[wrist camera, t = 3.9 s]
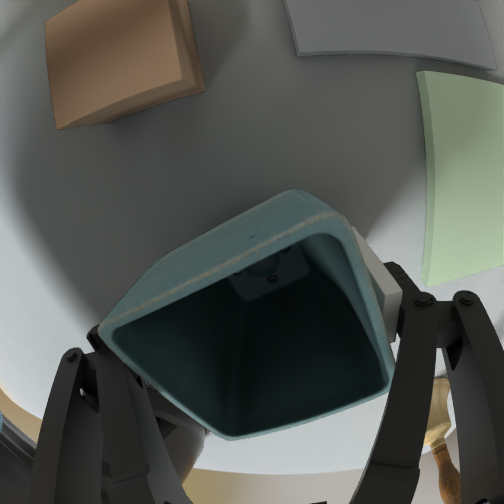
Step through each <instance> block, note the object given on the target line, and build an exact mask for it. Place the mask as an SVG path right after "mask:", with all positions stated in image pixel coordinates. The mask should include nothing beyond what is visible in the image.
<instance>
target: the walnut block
mask: <svg viewBox="0 0 504 504" xmlns="http://www.w3.org/2000/svg"><path fill="white" fill-rule="evenodd" d="M45 42H46V58H47V69H48V79H49V87H50V94H51V101H52V107H53V113H54V118H55V123H56V128H57V130H61V129H67V128H73V127H80V126H87V125H95V124H104V123H109V122H111V121H114V120H116V119H119V118H121V117H124V116H127V115H129V114H132V113H135V112H138V111H141V110H144V109H146V108H149V107H152V106H156V105H159V104H162V103H165V102H168V101H172V100H175V99H179V98H182V97H186V96H189V95H193V94H197V93H201V92H205V91H206V90H205V85H204V80H203V75H202V71H201V66H200V61H199V56H198V51H197V46H196V41H195V36H194V31H193V26H192V21H191V16H190V11H189V6H188V1H187V0H79V1H77V2H75V3H74V4H72V5H70V6H69V7H67V8H65V9H64V10H62V11H61V12H59V13H58V14H56V15H55V16H53V17H52V18H50V19H49V20H47V21H46V22H45Z"/></svg>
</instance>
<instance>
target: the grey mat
mask: <svg viewBox="0 0 504 504" xmlns="http://www.w3.org/2000/svg"><path fill="white" fill-rule="evenodd" d="M283 3H284V7H285V10H286V14H287V18H288V21H289V25H290V29H291V33H292V37H293V41H294V45H295V49H296V53H297V57H301V56H313V55H330V54H382V55H399V56H410V57H420V58H428V59H435V60H441V61H447V62H453V63H458V64H463V65H468V66H472V67H477V68H481V69H485V70H497V68H496V63H495V58H494V54H493V50H492V46H491V42H490V38H489V35H488V31H487V28H486V25H485V22H484V19H483V16H482V13H481V10H480V7H479V4H478V2H477V0H283Z"/></svg>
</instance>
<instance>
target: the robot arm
mask: <svg viewBox="0 0 504 504" xmlns="http://www.w3.org/2000/svg"><path fill="white" fill-rule="evenodd" d="M352 229H353V232H354V234H355V236H356V238H357V242H358V245H359V248H360V251H361V253H362V255H363V259H364V262H365V265H366V268H367V271H368V273H369V276H370V279H371V282H372V285H373V288H374V292H375V294H376V298H377V301H378V304H379V308H380V310H381V314H382V317H383V321H384V323H385V328H386V332H387V335H388V337H389V341H390V343H392V342H395V340H396V334H397V333H398V335H399V337H400V344H399V349H398V354H397V360H396V365H395V369H394V374H393V378H392V382H391V387H390V391H389V395H388V398H387V402H386V406H385V409H384V413H383V416H382V420H381V423H380V426H379V429H378V433H377V436H376V439H375V442H374V444H373V447H372V450H371V453H370V456H369V458H368V461H367V464H366V466H365V469H364V471H363V474H362V476H361V479H360V481H359V483H358V486H357V488H356V490H355V492H354V494H353V496H352V498H351V501H350V503H349V504H411V501H412V499H413V496H414V493H415V490H416V487H417V484H418V480H419V476H420V469H419V461H420V457H421V453H422V448H423V444H424V440H425V435H426V430H427V425H428V419H429V413H430V407H431V400H432V393H433V384H434V375H435V363H436V348H441V349H442V353H443V357H444V361H445V365H446V370H447V374H448V379H449V384H450V389H451V395H452V400H453V406H454V413H455V420H456V428H457V436H458V447H459V461H460V493H461V504H504V350H503V347H502V345H501V343H500V340H499V338H498V336H497V333H496V331H495V329H494V327H493V325H492V322H491V320H490V318H489V316H488V314H487V312H486V310H485V308H484V306H483V304H482V302H481V300H480V298H479V297H478V296H477V295H476V294H475V293H473V292H471V291H466V290H462V291H458V292H456V293H455V294H454V296H453V300H452V301H436V298H435V297H434V296H433V295H431V294H429V293H427V292H421V291H420V290H419V289H418V287H417V286H416V285H415V283H414V282H413V281H412V280H411V278H410V277H409V276H408V275H407V273H405V271H404V270H403V269H402V267H401V266H400V265H398V264H396V263H394V262H393V261H392V262H387V263H382V262H381V261H380V259H379V258H378V257H377V255H376V254H375V253H374V252H373V250H372V249H371V248H370V246H369V245H368V244H367V243H366V241H365V240H364V239H363V238H362V236H361V235H360V234H359V233H358V231H357V230H356V229H355V228H354V226H352ZM99 325H100V324H99ZM99 325H97V326H95V327H93V328H92V329H91V330H90V331H89V332H88V334H87V337H86V338H87V339H88V341H89V342H90V344H91V346H92V347H93V349H94V350H95V352H91V353H88V354H84V353H83V351H82V350H81V349H80V348H78V347H77V348H72V349H69V350H68V351H66V353H65V354H64V355H63V357H62V358H61V361H60V364H59V367H58V370H57V373H56V376H55V379H54V382H53V385H52V388H51V392H50V395H49V398H48V402H47V406H46V409H45V413H44V417H43V421H42V425H41V429H40V434H39V438H38V443H35V442H34V441H33V440H32V439H30V438H29V437H28V436H27V435H25V434H24V433H23V432H22V431H21V430H20V429H18V428H17V427H16V426H15V425H14V424H13V423H11V422H10V421H9V420H8V419H7V418H6V417H5V416H4V415H3V414H2V413H1V411H0V504H193V503H192V501H191V500H190V499H189V498H188V496H187V495H186V493H185V492H184V489H183V487H182V485H183V483H184V481H185V480H186V478H187V476H188V475H189V473H190V471H191V469H192V468H193V466H194V464H195V462H196V461H197V459H198V457H199V455H200V454H201V452H202V449H203V446H204V439H205V427H204V426H203V425H201V424H200V423H199V422H197V421H196V420H194V419H193V418H192V417H190V416H189V415H188V414H186V413H185V412H184V411H182V410H181V409H180V408H178V407H177V406H175V405H174V404H173V403H172V402H170V401H169V400H168V399H167V398H166V397H164V396H163V395H162V394H161V393H158V392H156V391H154V390H151V389H148V388H146V386H145V383H144V379H143V378H142V377H141V376H140V375H138V374H137V373H135V372H134V371H133V370H132V369H131V368H130V367H129V366H128V365H127V364H126V363H124V362H123V361H122V360H121V359H120V357H118V356H117V355H116V354H115V353H114V352H113V351H112V350H111V349H110V348H109V347H108V346H107V344H106V343H105V342H104V341H103V340H102V339H101V337H100V336H99V335H98V327H99ZM80 389H82V390H81V392H80ZM312 504H327V501H325V502H319V503H312Z"/></svg>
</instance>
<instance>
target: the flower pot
mask: <svg viewBox="0 0 504 504" xmlns="http://www.w3.org/2000/svg"><path fill="white" fill-rule="evenodd" d="M287 247H288V248H287ZM285 248H287V249H285ZM283 249H285V250H283ZM239 271H240V272H239ZM237 272H238V273H237ZM270 275H274V276H276V280H275V281H269V280H268V277H269V276H270ZM98 335H99V336H100V337H101V339H102V340H103V341H104V342H105V343H106V344H107V346H108V347H109V348H110V349H111V350H112V351H113V352H114V353H115V354H116V355H117V356H118V357H120V359H121V360H122V361H123V362H124V363H126V364H127V365H128V366H129V367H130V368H131V369H132V370H133V371H134V372H135V373H137V374H138V375H140V376H141V377H142V378H143V379H144V380H145V381H146V382H147V383H149V384H150V385H151V386H152V387H153V388H154V389H156V390H157V391H158V392H159V393H161V394H162V395H163V396H164V397H166V398H167V399H168V400H169V401H170V402H172V403H173V404H174V405H175V406H177V407H178V408H180V409H181V410H182V411H184V412H185V413H186V414H188V415H189V416H190V417H192V418H193V419H194V420H196V421H197V422H199V423H200V424H201V425H203V426H204V427H205V428H207V429H208V430H209V431H211V432H212V433H213V434H215V435H216V436H218V437H220V438H223V439H225V440H228V441H234V440H240V439H246V438H251V437H256V436H261V435H265V434H269V433H273V432H277V431H280V430H285V429H288V428H292V427H295V426H299V425H302V424H306V423H309V422H312V421H315V420H318V419H320V418H323V417H327V416H329V415H332V414H335V413H338V412H341V411H344V410H346V409H349V408H352V407H355V406H357V405H360V404H362V403H365V402H367V401H370V400H372V399H375V398H377V397H379V396H382V395H384V394H386V393H387V392H389V391H390V387H391V382H392V378H393V374H394V369H395V365H396V363H395V358H394V356H393V351H392V348H391V345H390V341H389V337H388V335H387V332H386V328H385V323H384V321H383V317H382V314H381V310H380V308H379V304H378V301H377V298H376V294H375V292H374V288H373V285H372V282H371V279H370V276H369V273H368V271H367V268H366V265H365V262H364V259H363V255H362V253H361V251H360V248H359V245H358V242H357V238H356V236H355V234H354V232H353V229H352V227H351V225H350V223H349V221H348V220H347V218H346V217H345V216H344V215H343V214H341V213H339V212H337V211H336V210H335V209H333V208H332V207H330V206H329V205H327V204H326V203H324V202H322V201H321V200H319V199H318V198H316V197H315V196H313V195H311V194H310V193H308V192H306V191H304V190H301V189H296V188H294V189H289V190H286V191H283V192H281V193H279V194H277V195H275V196H273V197H271V198H269V199H268V200H266V201H264V202H262V203H260V204H258V205H256V206H254V207H252V208H251V209H249V210H247V211H245V212H243V213H241V214H239V215H237V216H235V217H234V218H232V219H230V220H228V221H226V222H224V223H222V224H220V225H219V226H217V227H215V228H213V229H211V230H209V231H208V232H206V233H204V234H202V235H200V236H198V237H197V238H195V239H193V240H191V241H189V242H188V243H186V244H184V245H182V246H180V247H178V248H176V249H174V250H173V251H171V252H170V253H168V254H166V255H165V256H163V257H162V258H160V259H159V260H158V261H156V262H155V263H154V264H153V265H152V266H151V267H150V268H149V269H148V270H147V271H146V272H145V273H144V274H143V275H142V276H141V277H140V278H139V279H138V280H137V281H136V283H135V284H134V285H133V286H132V287H131V288H130V289H129V291H128V292H127V293H126V294H125V295H124V296H123V297H122V299H121V300H120V301H119V302H118V303H117V304H116V306H115V307H114V308H113V309H112V310H111V311H110V313H109V314H108V315H107V316H106V318H105V319H104V320H103V321H102V322H101V324H100V325H99V327H98Z"/></svg>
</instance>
